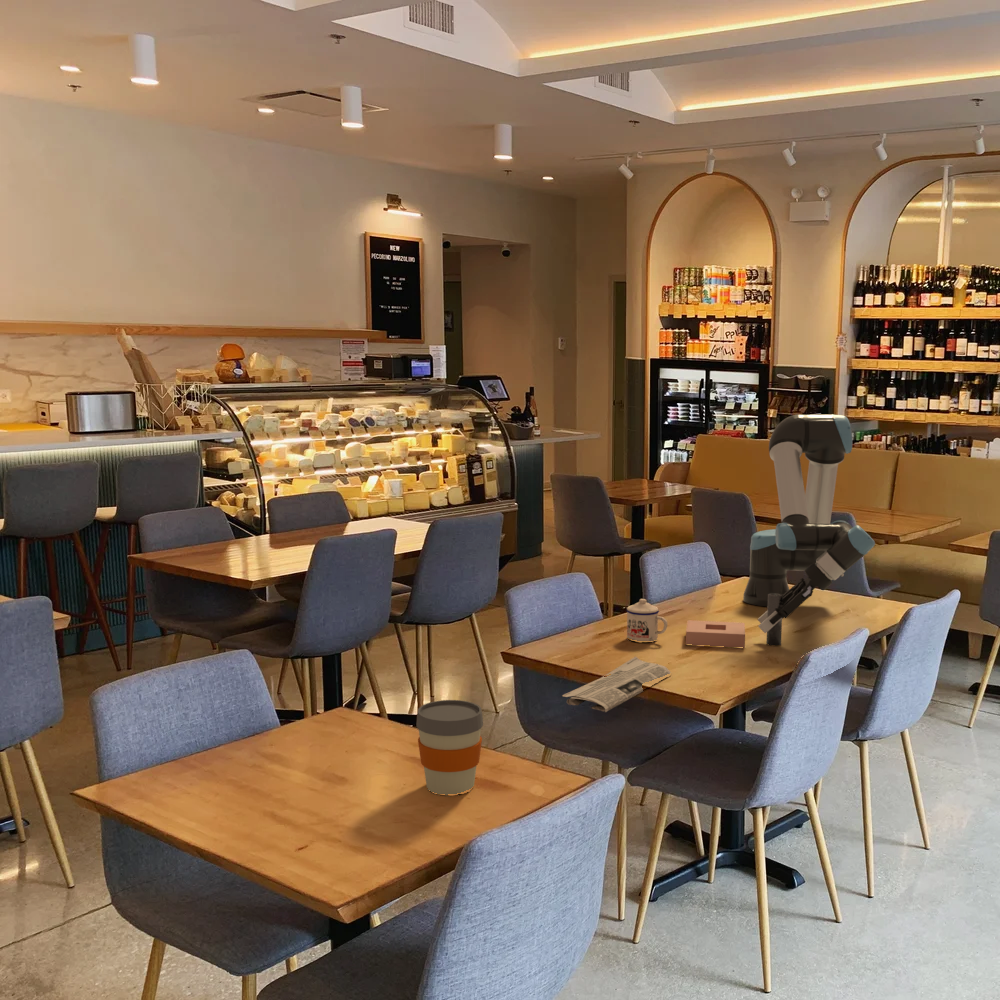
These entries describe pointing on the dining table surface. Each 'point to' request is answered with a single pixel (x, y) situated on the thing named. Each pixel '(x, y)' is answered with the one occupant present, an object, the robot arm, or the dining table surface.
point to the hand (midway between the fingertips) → (761, 626)
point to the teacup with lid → (643, 621)
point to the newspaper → (617, 685)
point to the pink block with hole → (715, 633)
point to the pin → (776, 631)
